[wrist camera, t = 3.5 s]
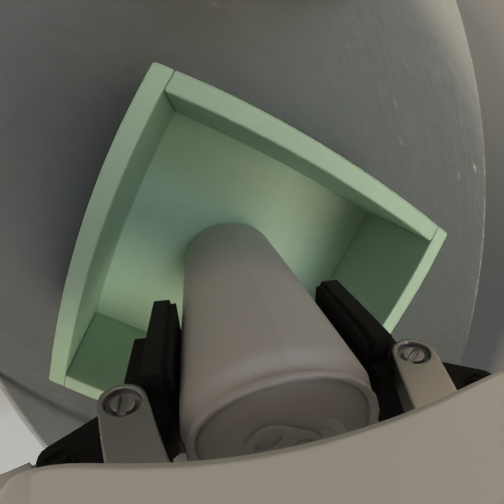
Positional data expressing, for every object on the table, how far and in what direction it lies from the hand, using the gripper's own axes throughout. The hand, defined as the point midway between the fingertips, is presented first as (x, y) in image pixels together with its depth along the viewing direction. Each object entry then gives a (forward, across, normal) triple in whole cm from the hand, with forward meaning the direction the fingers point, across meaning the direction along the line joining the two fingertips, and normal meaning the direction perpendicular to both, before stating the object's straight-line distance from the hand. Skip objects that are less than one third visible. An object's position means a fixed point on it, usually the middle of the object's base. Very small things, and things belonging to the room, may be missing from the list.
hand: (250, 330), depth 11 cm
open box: (+8, 0, 0) cm, 8 cm away
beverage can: (+7, 0, 0) cm, 7 cm away
